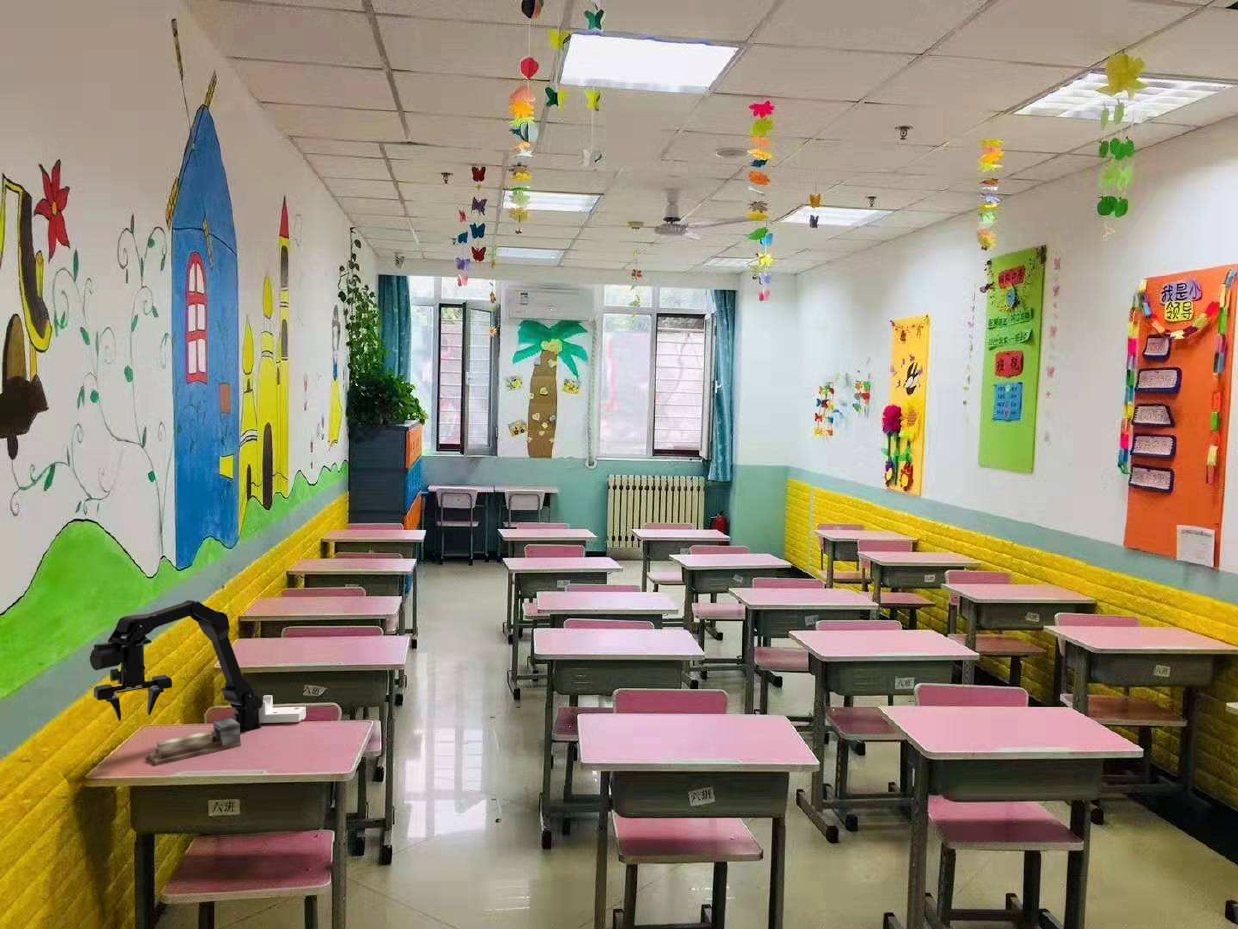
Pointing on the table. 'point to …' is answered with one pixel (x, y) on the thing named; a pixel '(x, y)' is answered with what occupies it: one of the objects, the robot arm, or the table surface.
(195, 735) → the grey beige long block
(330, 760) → the table surface
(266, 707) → the bracket
